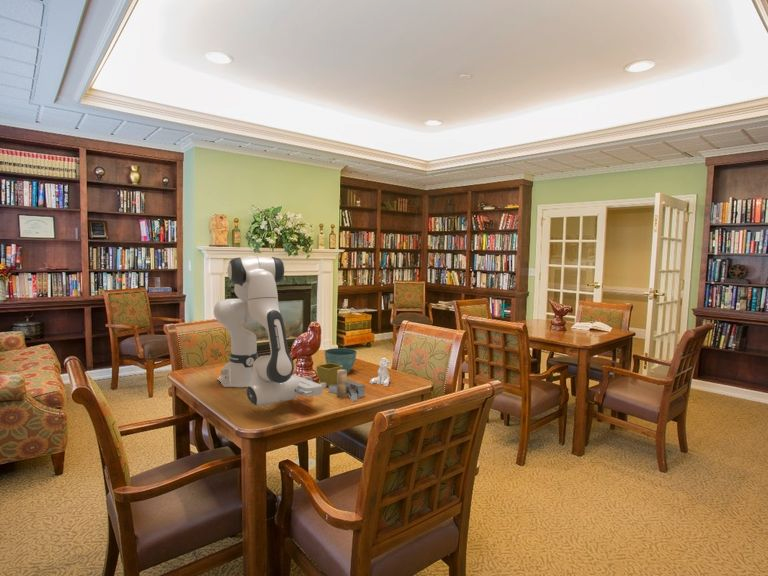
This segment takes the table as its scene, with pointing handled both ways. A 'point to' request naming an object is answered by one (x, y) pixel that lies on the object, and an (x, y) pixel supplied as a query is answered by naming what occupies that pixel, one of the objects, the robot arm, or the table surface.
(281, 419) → the table surface
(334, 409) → the table surface
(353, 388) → the crossed grey wooden bars
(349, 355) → the flower pot
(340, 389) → the dowel
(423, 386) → the table surface
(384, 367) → the sitting furry creature
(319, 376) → the flower pot
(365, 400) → the table surface
